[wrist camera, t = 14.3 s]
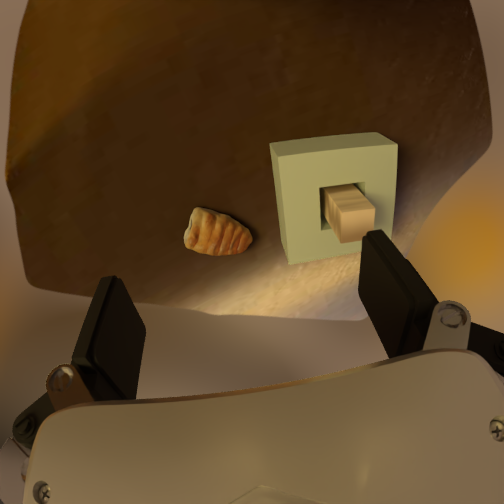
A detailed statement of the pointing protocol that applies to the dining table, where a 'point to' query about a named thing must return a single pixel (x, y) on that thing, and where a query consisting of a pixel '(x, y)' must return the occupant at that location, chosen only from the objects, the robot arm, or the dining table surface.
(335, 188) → the birch block
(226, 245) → the pastry
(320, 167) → the well block
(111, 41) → the dining table surface
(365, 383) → the robot arm
